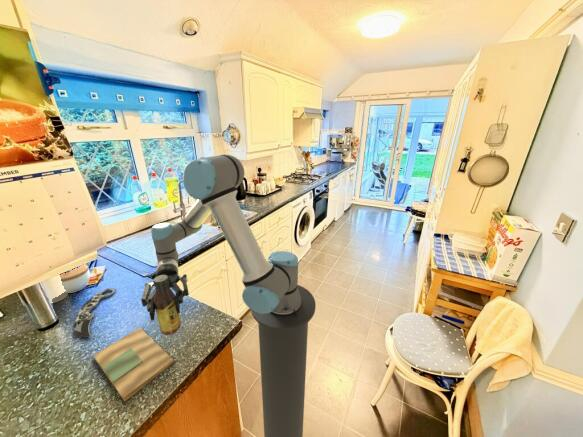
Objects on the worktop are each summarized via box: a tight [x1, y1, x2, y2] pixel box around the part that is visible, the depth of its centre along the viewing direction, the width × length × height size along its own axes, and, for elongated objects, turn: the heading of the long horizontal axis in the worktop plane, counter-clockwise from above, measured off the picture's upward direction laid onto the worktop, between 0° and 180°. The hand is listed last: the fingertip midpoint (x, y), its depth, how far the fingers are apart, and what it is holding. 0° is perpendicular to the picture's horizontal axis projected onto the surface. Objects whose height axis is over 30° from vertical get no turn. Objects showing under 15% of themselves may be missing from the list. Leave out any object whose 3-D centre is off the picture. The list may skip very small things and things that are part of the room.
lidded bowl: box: [60, 263, 91, 294], centre depth 106 cm, size 13×13×11 cm
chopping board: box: [93, 327, 174, 402], centre depth 75 cm, size 22×14×2 cm, turn 55°
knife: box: [73, 287, 116, 338], centre depth 94 cm, size 28×2×10 cm
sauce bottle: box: [152, 275, 182, 336], centre depth 75 cm, size 6×6×20 cm
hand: (165, 313), depth 70 cm, fingers closed on sauce bottle, 6 cm apart
